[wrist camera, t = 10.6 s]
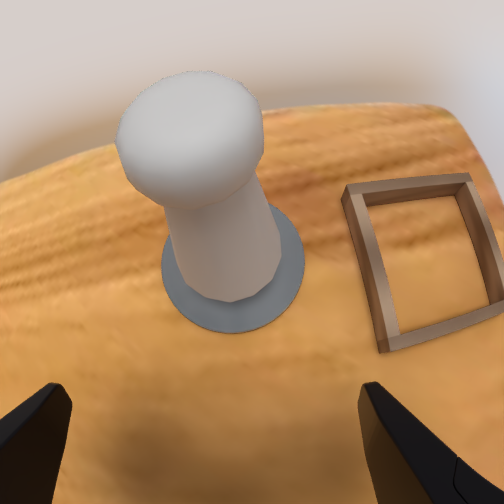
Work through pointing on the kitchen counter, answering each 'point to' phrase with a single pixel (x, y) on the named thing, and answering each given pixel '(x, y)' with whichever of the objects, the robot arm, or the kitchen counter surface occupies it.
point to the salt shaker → (204, 179)
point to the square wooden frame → (372, 268)
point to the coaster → (248, 309)
